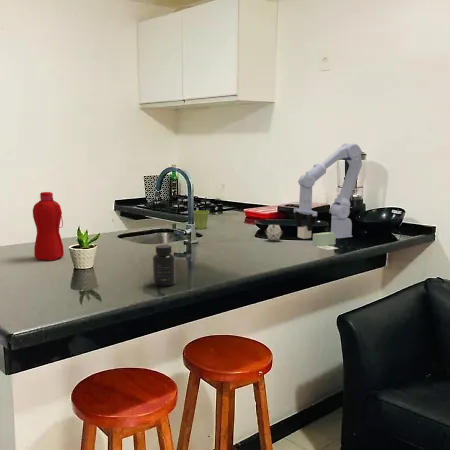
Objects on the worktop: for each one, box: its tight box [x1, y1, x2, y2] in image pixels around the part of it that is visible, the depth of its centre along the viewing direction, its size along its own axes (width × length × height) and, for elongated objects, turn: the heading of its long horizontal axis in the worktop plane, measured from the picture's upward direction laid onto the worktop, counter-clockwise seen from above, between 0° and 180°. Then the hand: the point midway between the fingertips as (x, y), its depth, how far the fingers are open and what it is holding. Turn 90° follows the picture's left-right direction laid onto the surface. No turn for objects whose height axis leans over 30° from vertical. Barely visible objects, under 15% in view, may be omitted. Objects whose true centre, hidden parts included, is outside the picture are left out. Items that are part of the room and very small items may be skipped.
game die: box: [264, 222, 284, 242], centre depth 230 cm, size 9×8×10 cm
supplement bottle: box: [152, 244, 176, 287], centre depth 158 cm, size 7×7×12 cm
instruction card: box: [314, 245, 339, 251], centre depth 217 cm, size 6×8×1 cm
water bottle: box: [32, 191, 65, 261], centre depth 190 cm, size 9×11×25 cm
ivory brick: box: [297, 226, 312, 240], centre depth 240 cm, size 4×4×5 cm
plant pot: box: [193, 210, 210, 230], centre depth 263 cm, size 9×9×9 cm
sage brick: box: [312, 231, 336, 246], centre depth 223 cm, size 9×4×5 cm, turn 121°
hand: (304, 229), depth 239 cm, fingers open, 7 cm apart
